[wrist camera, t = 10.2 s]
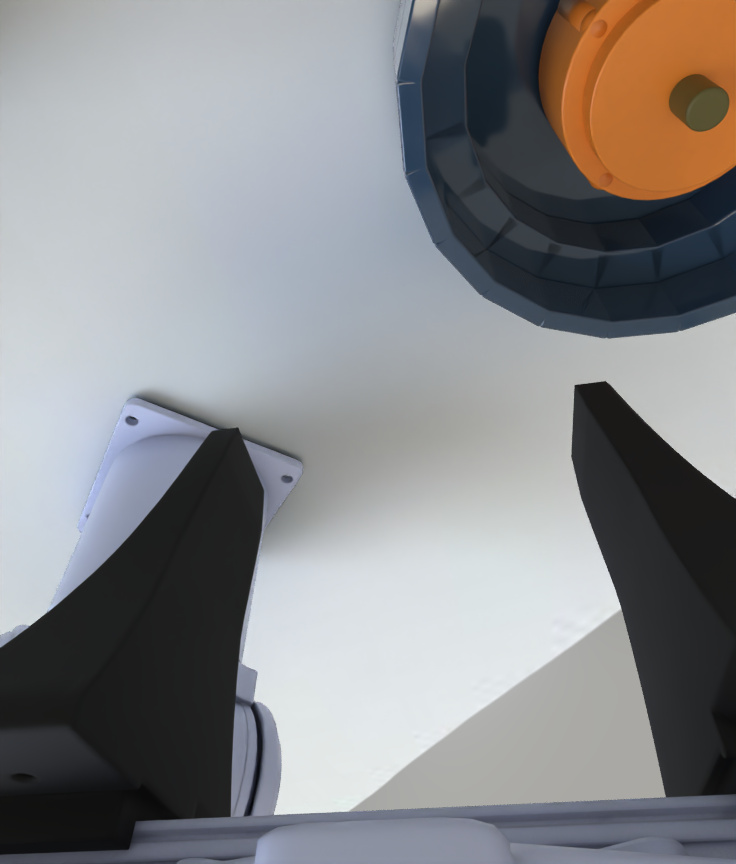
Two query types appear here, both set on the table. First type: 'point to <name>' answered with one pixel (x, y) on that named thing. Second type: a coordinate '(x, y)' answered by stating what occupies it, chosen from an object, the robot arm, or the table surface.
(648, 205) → the bowl
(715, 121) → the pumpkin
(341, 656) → the table surface
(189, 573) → the robot arm
